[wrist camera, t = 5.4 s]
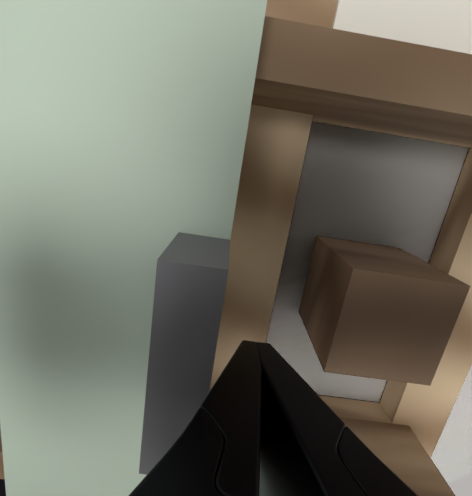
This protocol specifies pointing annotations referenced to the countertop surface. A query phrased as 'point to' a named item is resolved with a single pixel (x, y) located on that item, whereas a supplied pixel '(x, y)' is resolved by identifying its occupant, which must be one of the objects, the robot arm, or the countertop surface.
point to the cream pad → (410, 21)
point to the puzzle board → (286, 186)
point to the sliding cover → (114, 228)
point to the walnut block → (378, 311)
